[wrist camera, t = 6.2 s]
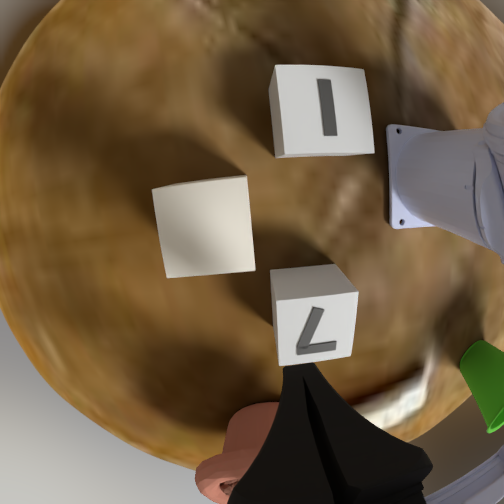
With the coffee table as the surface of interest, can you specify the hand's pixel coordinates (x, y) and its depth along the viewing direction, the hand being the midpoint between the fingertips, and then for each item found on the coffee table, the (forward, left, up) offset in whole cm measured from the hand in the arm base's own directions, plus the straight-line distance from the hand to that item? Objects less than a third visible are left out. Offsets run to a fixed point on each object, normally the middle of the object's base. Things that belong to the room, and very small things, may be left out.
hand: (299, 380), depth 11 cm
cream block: (+4, -6, -10) cm, 12 cm away
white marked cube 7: (-2, +1, -10) cm, 10 cm away
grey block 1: (-3, -12, -10) cm, 16 cm away
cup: (-26, +14, -10) cm, 31 cm away
